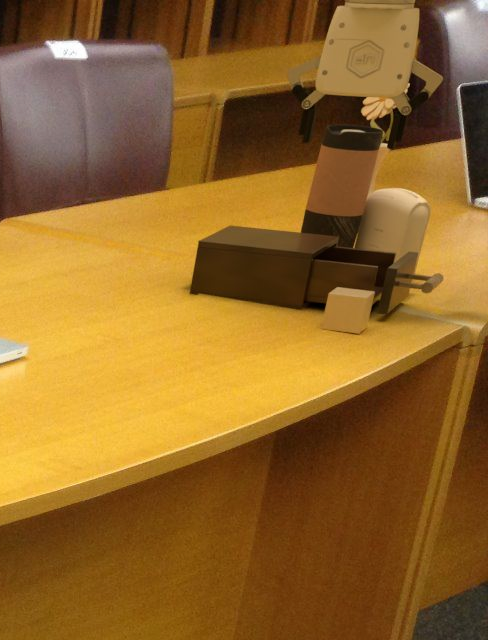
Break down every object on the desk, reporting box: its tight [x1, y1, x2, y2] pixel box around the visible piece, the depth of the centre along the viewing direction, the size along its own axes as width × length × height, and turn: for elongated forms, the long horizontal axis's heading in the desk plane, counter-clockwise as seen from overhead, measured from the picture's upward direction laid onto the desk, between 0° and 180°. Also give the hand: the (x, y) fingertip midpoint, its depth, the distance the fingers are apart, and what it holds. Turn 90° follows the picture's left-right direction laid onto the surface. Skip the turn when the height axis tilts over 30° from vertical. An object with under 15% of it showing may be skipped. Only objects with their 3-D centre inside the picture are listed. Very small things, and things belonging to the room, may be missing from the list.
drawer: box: [304, 246, 444, 315], centre depth 202 cm, size 18×13×6 cm
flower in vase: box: [358, 82, 411, 231], centre depth 248 cm, size 13×11×25 cm
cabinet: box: [189, 225, 339, 311], centre depth 209 cm, size 15×15×8 cm
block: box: [320, 287, 375, 335], centre depth 193 cm, size 4×4×4 cm
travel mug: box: [300, 124, 384, 248], centre depth 220 cm, size 8×8×20 cm
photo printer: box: [353, 187, 432, 282], centre depth 218 cm, size 10×4×12 cm, turn 13°
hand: (348, 145), depth 190 cm, fingers open, 9 cm apart
